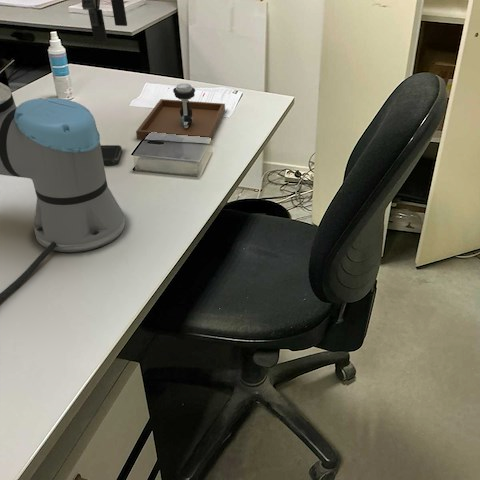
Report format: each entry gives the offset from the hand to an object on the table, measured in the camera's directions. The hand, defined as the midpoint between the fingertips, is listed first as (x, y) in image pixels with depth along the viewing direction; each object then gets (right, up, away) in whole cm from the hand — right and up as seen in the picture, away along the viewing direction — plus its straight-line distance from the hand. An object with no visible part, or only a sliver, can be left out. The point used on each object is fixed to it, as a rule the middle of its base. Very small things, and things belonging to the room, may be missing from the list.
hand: (111, 32), depth 128 cm
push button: (+14, -19, +14) cm, 27 cm away
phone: (-4, -30, -3) cm, 30 cm away
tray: (+13, -18, +15) cm, 27 cm away
